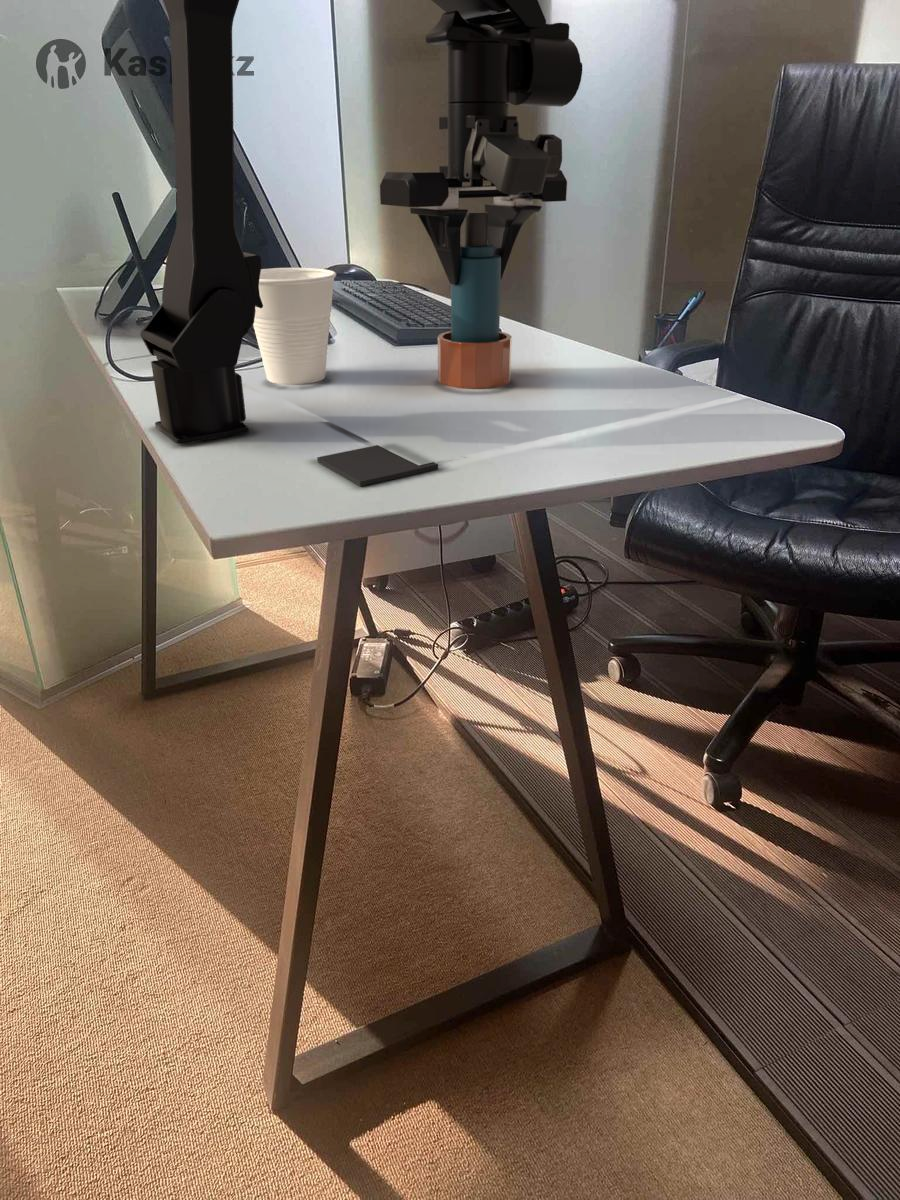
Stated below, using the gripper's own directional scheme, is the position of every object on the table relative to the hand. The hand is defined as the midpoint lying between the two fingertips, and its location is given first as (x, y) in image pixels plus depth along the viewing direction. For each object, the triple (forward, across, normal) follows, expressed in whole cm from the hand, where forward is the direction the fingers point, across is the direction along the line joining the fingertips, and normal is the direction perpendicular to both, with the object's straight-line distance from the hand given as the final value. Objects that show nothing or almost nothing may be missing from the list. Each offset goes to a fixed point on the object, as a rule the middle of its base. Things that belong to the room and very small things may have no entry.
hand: (475, 282), depth 87 cm
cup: (+10, -15, +12) cm, 22 cm away
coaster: (+10, -22, -17) cm, 30 cm away
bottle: (+6, 0, 0) cm, 6 cm away
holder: (+10, 0, 0) cm, 10 cm away
